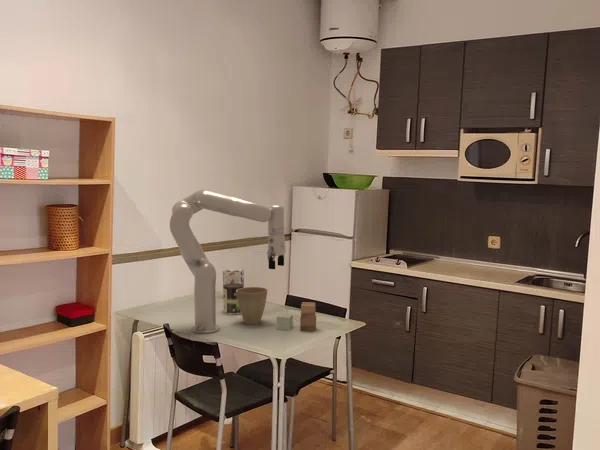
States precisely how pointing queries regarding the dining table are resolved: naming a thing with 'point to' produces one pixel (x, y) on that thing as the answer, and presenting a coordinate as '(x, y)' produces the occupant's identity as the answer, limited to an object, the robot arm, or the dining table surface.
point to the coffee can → (231, 299)
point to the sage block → (284, 322)
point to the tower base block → (307, 324)
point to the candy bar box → (233, 277)
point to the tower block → (308, 310)
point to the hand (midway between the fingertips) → (276, 267)
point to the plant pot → (252, 303)
